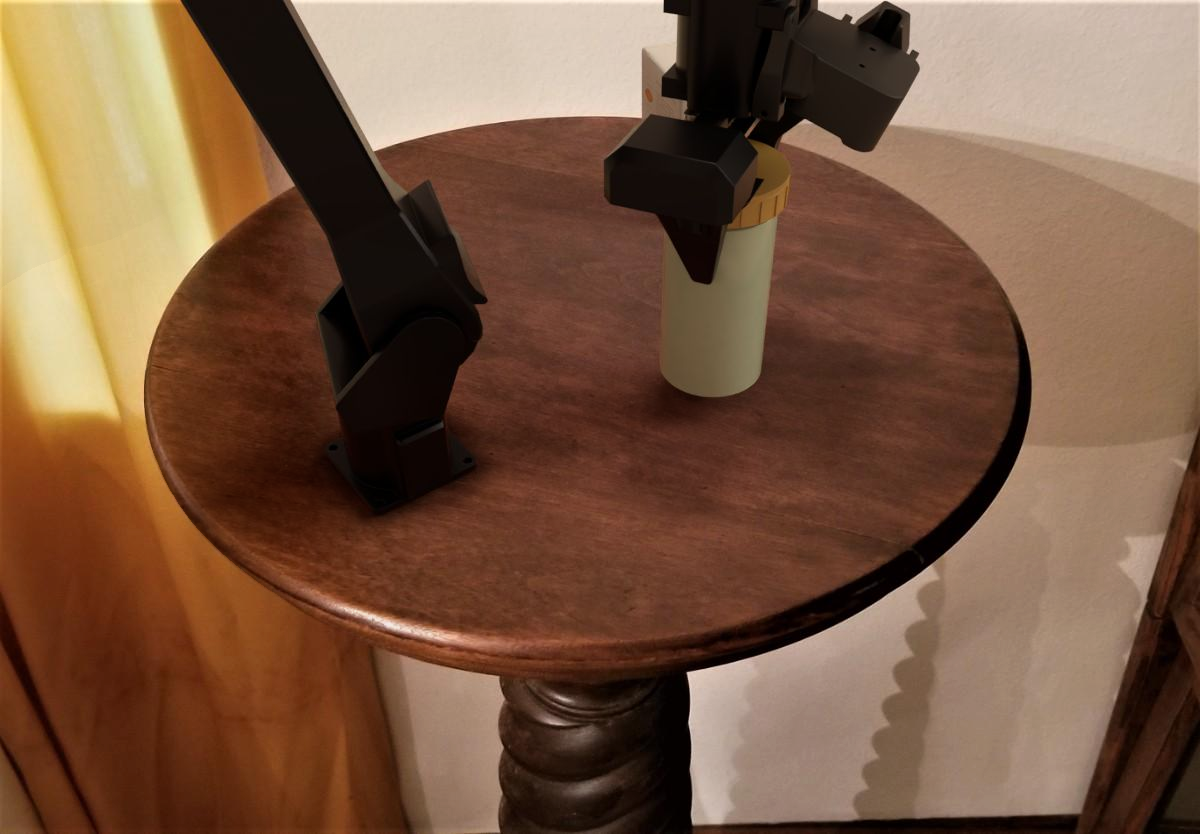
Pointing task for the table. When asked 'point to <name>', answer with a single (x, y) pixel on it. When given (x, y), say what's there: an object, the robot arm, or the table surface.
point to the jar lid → (766, 188)
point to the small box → (659, 82)
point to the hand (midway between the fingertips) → (722, 252)
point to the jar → (718, 315)
